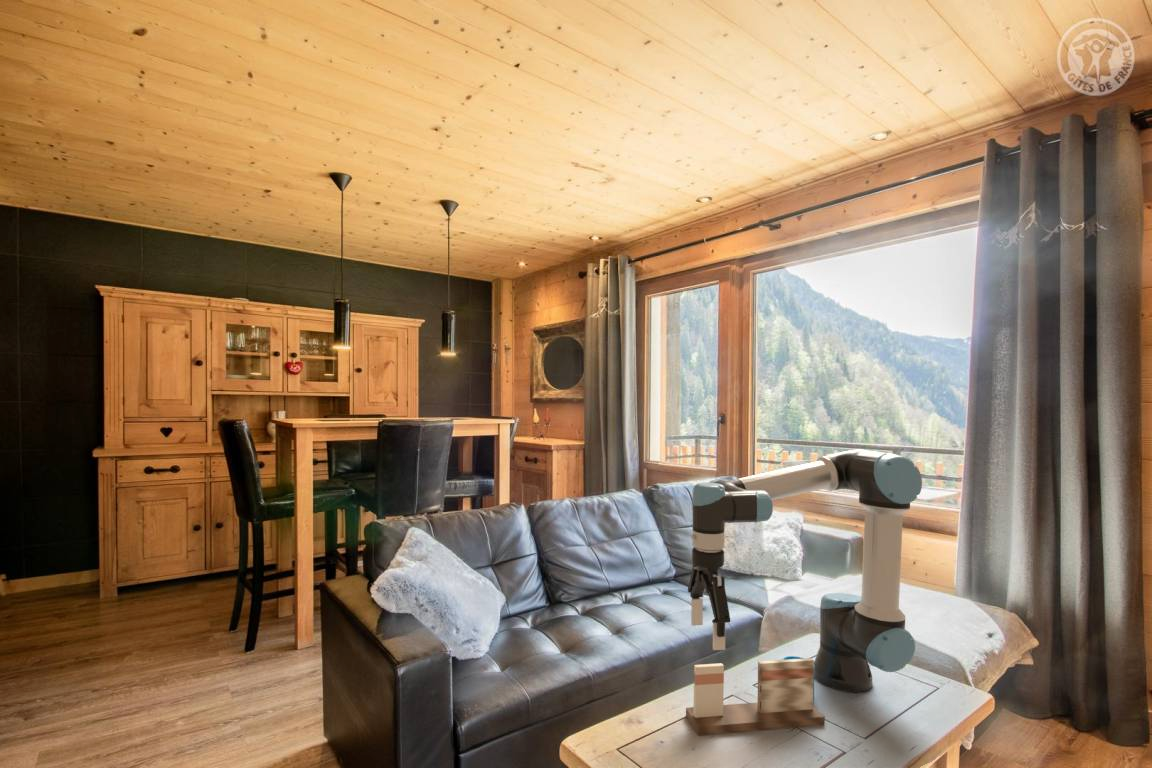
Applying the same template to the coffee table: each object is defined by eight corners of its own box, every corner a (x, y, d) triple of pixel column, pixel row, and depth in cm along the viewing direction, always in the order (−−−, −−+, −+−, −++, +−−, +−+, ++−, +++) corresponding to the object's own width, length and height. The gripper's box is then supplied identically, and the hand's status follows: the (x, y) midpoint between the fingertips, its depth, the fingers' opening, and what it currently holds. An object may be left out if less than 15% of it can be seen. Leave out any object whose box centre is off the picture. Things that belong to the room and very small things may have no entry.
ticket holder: (806, 706, 146) (807, 651, 146) (824, 725, 139) (825, 666, 139) (685, 715, 141) (686, 658, 141) (697, 735, 134) (698, 675, 134)
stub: (720, 712, 139) (721, 663, 139) (723, 715, 138) (723, 665, 138) (693, 714, 138) (694, 664, 138) (695, 718, 137) (696, 667, 137)
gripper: (675, 535, 150) (675, 616, 150) (713, 564, 126) (713, 662, 126) (703, 534, 152) (702, 615, 151) (746, 563, 127) (745, 659, 127)
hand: (707, 636), depth 139 cm, fingers open, 13 cm apart
